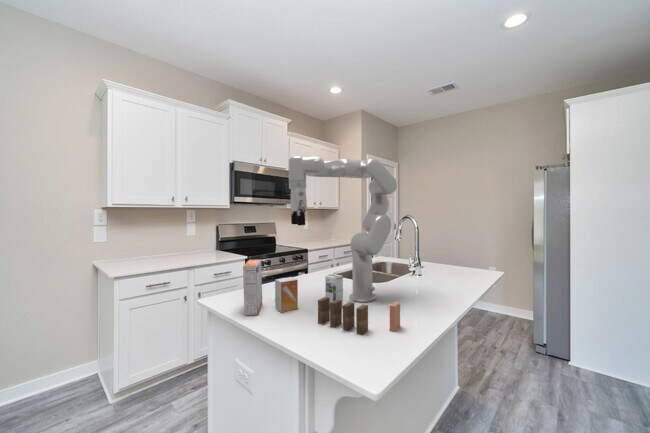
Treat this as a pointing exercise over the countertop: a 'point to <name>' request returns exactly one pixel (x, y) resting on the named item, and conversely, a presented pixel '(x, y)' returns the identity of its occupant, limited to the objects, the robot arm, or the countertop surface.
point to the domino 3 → (348, 316)
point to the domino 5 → (394, 316)
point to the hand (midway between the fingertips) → (298, 224)
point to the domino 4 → (361, 319)
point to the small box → (286, 294)
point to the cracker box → (252, 287)
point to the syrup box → (334, 287)
